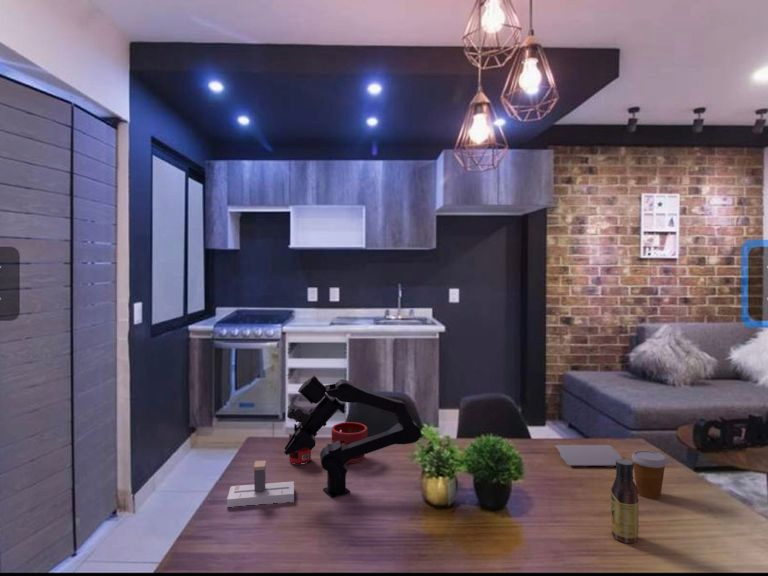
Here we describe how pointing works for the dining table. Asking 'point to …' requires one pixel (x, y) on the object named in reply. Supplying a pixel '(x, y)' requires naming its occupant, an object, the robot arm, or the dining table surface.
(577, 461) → the book
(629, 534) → the sauce bottle
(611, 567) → the dining table surface
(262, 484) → the slider handle
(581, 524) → the dining table surface
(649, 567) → the dining table surface
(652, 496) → the disposable coffee cup
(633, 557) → the dining table surface
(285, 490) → the dimmer panel
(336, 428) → the plant pot
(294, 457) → the canned food
